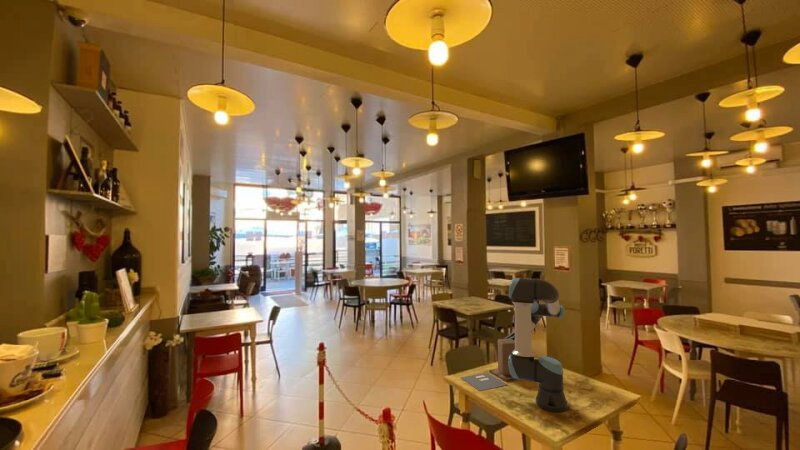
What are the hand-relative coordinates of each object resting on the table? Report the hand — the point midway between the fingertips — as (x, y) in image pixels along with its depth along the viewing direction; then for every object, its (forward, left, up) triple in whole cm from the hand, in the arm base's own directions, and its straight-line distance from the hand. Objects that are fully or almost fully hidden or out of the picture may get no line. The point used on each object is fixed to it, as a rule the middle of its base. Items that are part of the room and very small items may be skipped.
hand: (509, 353), depth 215 cm
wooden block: (0, +2, -12) cm, 12 cm away
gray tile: (-2, +22, -13) cm, 25 cm away
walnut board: (0, +2, -13) cm, 13 cm away
